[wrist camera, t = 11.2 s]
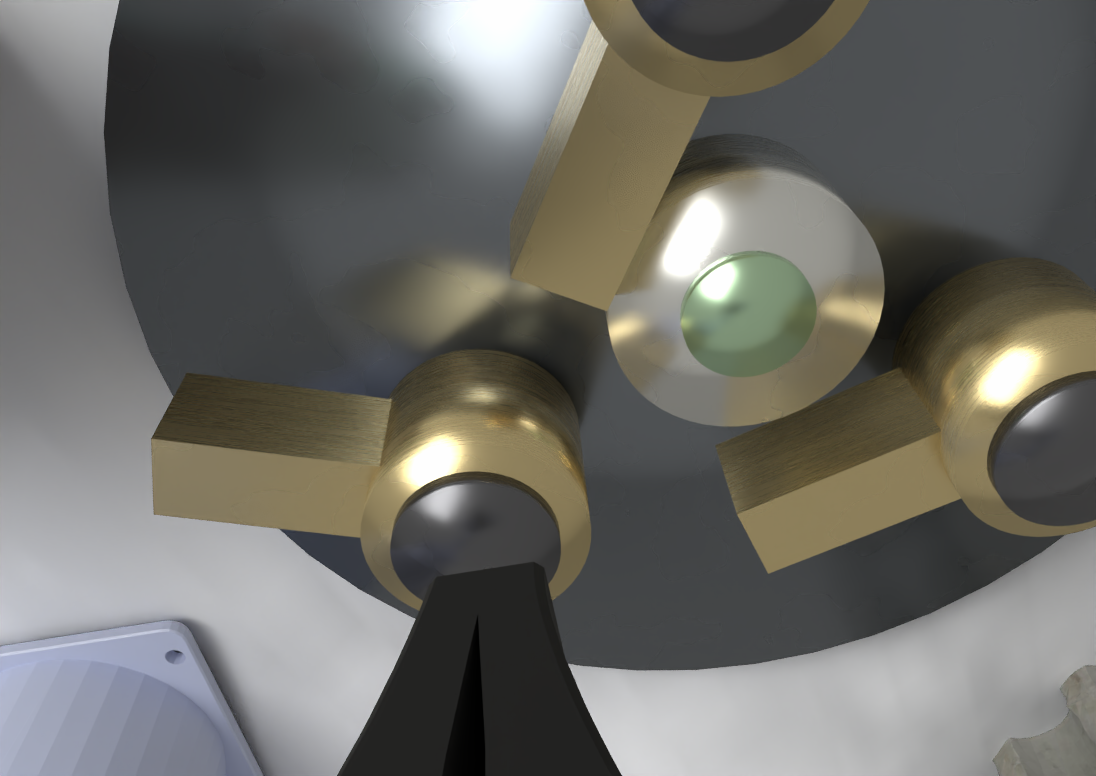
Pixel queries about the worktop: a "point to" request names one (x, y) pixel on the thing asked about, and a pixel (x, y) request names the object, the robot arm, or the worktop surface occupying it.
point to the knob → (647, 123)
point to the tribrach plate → (413, 259)
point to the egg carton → (1059, 737)
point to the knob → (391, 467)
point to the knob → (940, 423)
